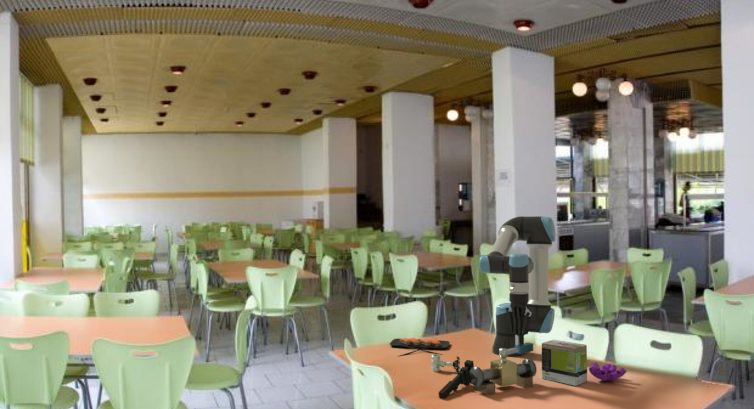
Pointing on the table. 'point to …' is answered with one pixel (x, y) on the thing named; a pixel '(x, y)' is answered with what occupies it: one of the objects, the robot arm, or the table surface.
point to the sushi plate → (420, 344)
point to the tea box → (564, 362)
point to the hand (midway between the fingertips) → (519, 351)
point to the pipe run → (503, 375)
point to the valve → (442, 363)
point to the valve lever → (516, 349)
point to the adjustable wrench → (458, 380)
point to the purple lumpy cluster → (606, 372)
